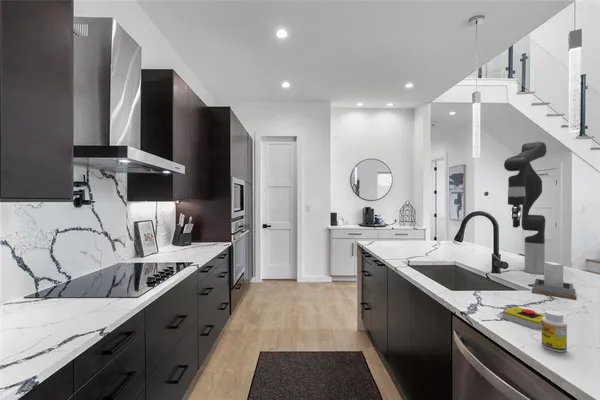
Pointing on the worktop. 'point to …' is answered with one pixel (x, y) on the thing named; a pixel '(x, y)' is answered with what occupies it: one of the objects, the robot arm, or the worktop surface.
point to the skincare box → (553, 274)
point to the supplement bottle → (554, 331)
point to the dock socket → (554, 290)
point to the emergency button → (523, 317)
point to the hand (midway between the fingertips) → (516, 226)
